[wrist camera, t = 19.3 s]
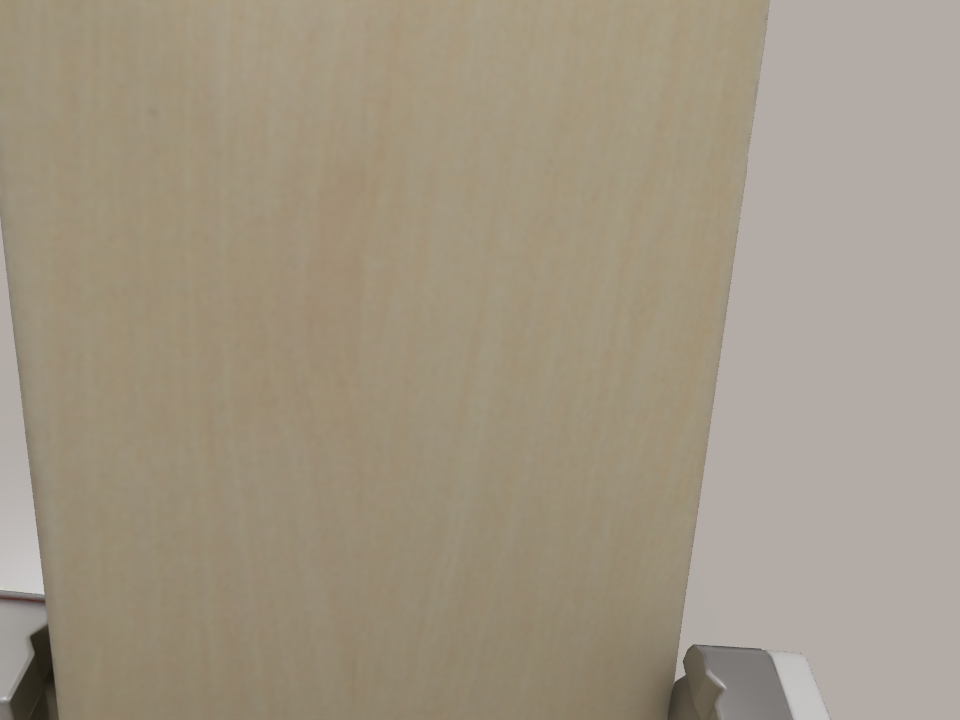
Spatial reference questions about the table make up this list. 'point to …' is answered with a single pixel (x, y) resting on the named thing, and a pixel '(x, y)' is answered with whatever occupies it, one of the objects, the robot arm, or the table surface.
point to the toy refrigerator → (370, 345)
